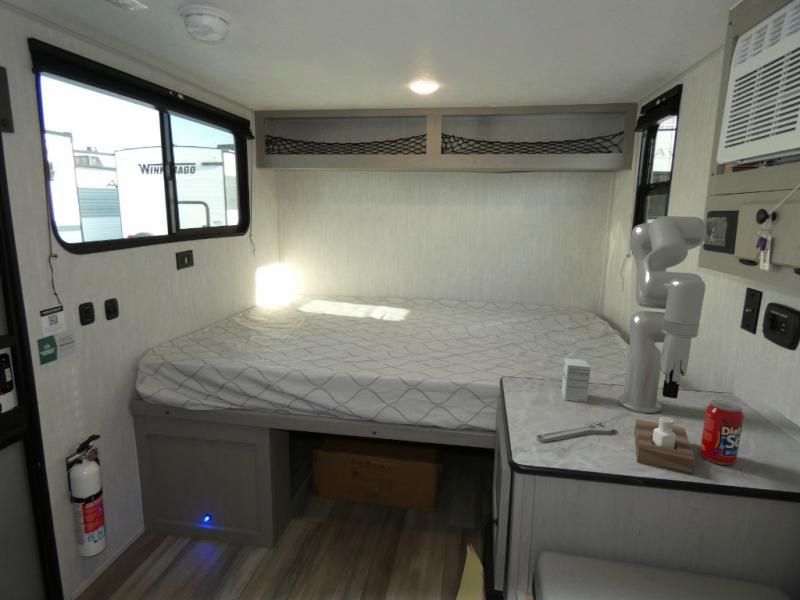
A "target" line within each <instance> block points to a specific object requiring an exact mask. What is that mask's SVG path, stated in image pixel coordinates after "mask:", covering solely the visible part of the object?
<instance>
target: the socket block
mask: <svg viewBox="0 0 800 600" xmlns="http://www.w3.org/2000/svg"><path fill="white" fill-rule="evenodd" d="M656 428H659V422H652V421H648V420H642V419H635V426H634V441H635V444H634V445H635V454H636V463H639V464H642V465H643V464H644V465H647V466H652V467H657V468H662V469H665V470H670V471H674V472H679V473H682V474H688V475H693V471H694V466H695V465H694V464H695V456H694V454H693V450H692V447H691V445H690V440H689V438H688V434H687V432H686V428H685V427H681V426H674V425H673V429H672V432H674V433H675V434H676V440H675V447H674V449H673V448H668V447H663V446H658V445H653V444H652V438H653V431H654V429H656Z"/></svg>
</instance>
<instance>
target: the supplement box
mask: <svg viewBox="0 0 800 600" xmlns="http://www.w3.org/2000/svg"><path fill="white" fill-rule="evenodd" d="M562 371H563V372H562V382H561V394H562V397H563V399H565V400H564V401H568V400H573V401H572V402H578V401H581V402H580V403H587V402H588V394H589V393H588V392H589V386H590V385H589V384H590V376H591V366H590V364H589V362H588V361H587V360H586V359H580V358H566V357H565V358H564V362H563V370H562Z"/></svg>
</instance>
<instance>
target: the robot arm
mask: <svg viewBox="0 0 800 600" xmlns="http://www.w3.org/2000/svg"><path fill="white" fill-rule="evenodd" d="M707 232H708V231H707V226H706V223H705V222H704V220H703V219H702V218H700V217H697V216H681V215H680V216H678V215H675V216H673V215H670V216H669V215H664V216H660V217H657V218H655V219H653V221H652V222H646V223H645V222H644V223H640V224H637V225H635V226H634V227H633V228H632V231H631V234H630V247H631V248H630V249H631V253H632V256H633V258H634V262H635V266H636V277H635V279H636V280H635V301H636V303H637V305H639V306H640V307H641V308H647V309H654V310H655V309H656V310H657V309H658V310H664V312H662V311H650V310H649V311H648V310H643V311H642V310H641V311H637V312H635V313H632V315H631V317H630V318H629V353H628V360H627V367H626V374H625V382H624V383H625V384H624V392H623V394H622V395H619V396H618V399H617V403H618V404H619V405H620V406H622V407H624V408H625V409H628V410H630V411H632V412H638V413H644V414H654V413H659V412H660V411H661V409H662V405H661V403H659V402H658V401H657V399H658V393H659V384H660V376H661V372H662V373H663V374H664V375H665V376H664V380H663V385H662V392H661V393H662V397H664V398H670V399H678V395H679V388H680V380H681V377H684V376H686V375H687V371H688V365H689V359H690V355H691V354H690V352H691V346H692V345H691V344H692V339H694V338H697V337H698V335H699V334H698V333H699V328H700V321H701V316H702V311H703V305H704V300H705V299H704V298H705V292H706V284H705V281H704V280H703V279H702V277H701V276H700V275H699V274H697V273H691V272H676V271H667V269H670V268H672V267H675V266H678V265H680V264H681V263H683V262H684V261H685V260H686V259H687V257H688V254H689V251H690V250H693V249H696V248H697V247H699V246H701V245H703V243H704V242H705V239H706V237H707ZM656 343H658V344H659V343H660V344H661V343H663V345H662V349H661V350H662V351H660V349H659V348H658V346H657V345H656Z"/></svg>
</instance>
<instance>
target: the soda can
mask: <svg viewBox="0 0 800 600" xmlns="http://www.w3.org/2000/svg"><path fill="white" fill-rule="evenodd" d="M744 419H745V414H744V412H743V408H742V406H740V405H738V404H737V403H734V402H730V401H727V400H723V399H722V400H721V399H720V400H719V399H715V400H711V402H710V404H708V405H707V407H706V409H705V416H704V422H703V428H702V434H701V435H702V436H701V441H700V446H699V447H700V448H699V453H700V454H701V456H703V457H704V458H705V459H706V460H708V461H709V462H711V463H714V464H716V465H724V466H725V465H726V466H727V465H732V464H735V463H736V461H737V458H738V455H739V454H738V452H739V449H740V448H739V447H740V442H741V435H742V430H743V425H744Z"/></svg>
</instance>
